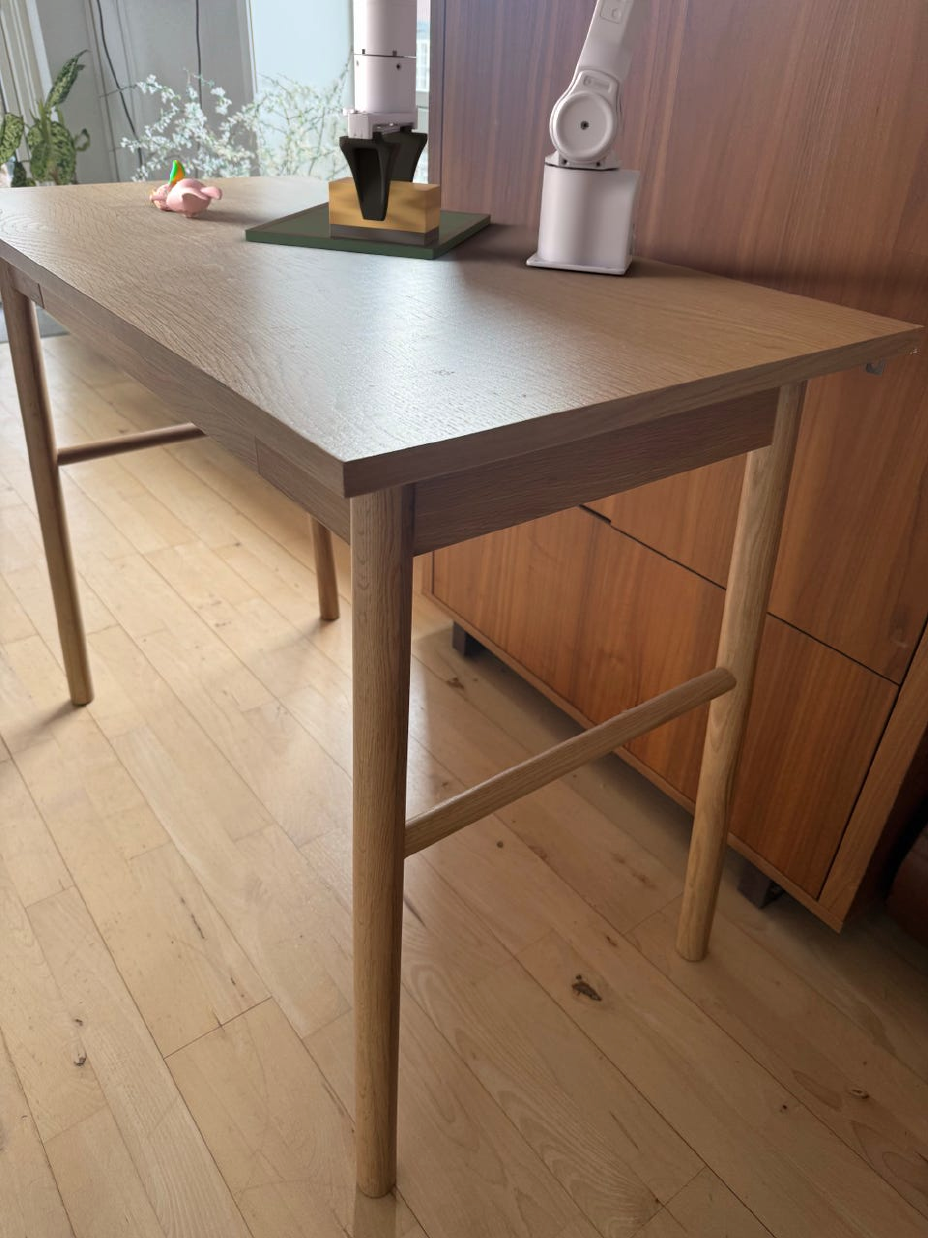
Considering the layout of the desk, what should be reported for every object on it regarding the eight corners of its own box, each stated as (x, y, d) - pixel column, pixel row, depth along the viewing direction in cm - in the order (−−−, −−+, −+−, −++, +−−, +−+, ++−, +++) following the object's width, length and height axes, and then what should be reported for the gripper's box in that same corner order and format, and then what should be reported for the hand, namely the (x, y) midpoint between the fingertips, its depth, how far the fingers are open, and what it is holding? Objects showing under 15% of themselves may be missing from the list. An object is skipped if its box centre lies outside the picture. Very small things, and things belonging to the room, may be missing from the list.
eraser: (439, 237, 96) (440, 184, 93) (424, 245, 92) (426, 190, 89) (347, 228, 98) (346, 176, 95) (329, 236, 93) (328, 181, 91)
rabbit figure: (139, 220, 109) (188, 217, 98) (129, 163, 107) (177, 154, 96) (190, 217, 113) (242, 214, 101) (181, 162, 110) (234, 153, 99)
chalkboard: (490, 223, 111) (491, 214, 110) (433, 259, 91) (433, 248, 90) (333, 208, 115) (333, 199, 114) (245, 240, 95) (244, 229, 94)
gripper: (371, 53, 93) (371, 201, 100) (314, 53, 81) (319, 221, 88) (439, 57, 91) (435, 207, 98) (391, 57, 79) (390, 228, 86)
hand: (385, 214), depth 93 cm, fingers open, 6 cm apart
